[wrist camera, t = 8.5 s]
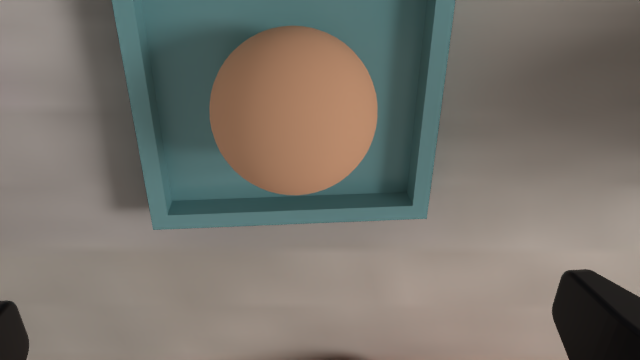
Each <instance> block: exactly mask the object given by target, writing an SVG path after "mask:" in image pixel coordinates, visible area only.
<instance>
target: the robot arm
mask: <svg viewBox="0 0 640 360" xmlns="http://www.w3.org/2000/svg"><path fill="white" fill-rule="evenodd" d="M552 315H553V319H554V322H555V325H556V327H557V330H558V333H559V335H560V338H561V340H562V343H563V345H564V348H565V350H566V353H567V355H568V358H569V360H640V297H638V296H637V295H635V294H633V293H631V292H629V291H628V290H626V289H624V288H622V287H620V286H619V285H617V284H615V283H613V282H612V281H610V280H608V279H606V278H604V277H603V276H601V275H599V274H597V273H595V272H594V271H591V270H587V269H583V270H568V271H566V272H564V274H563V275H562V277H561V280H560V283H559V286H558V289H557V293H556V296H555V299H554V303H553V307H552ZM28 351H29V339H28V335H27V332H26V330H25V327H24V324H23V322H22V319H21V316H20V314H19V311H18V308H17V306H16V305H15V304H14V302H12V301H0V360H26V359H27V355H28Z"/></svg>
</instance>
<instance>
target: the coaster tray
mask: <svg viewBox="0 0 640 360" xmlns="http://www.w3.org/2000/svg"><path fill="white" fill-rule="evenodd" d="M112 5H113V10H114V16H115V22H116V27H117V33H118V38H119V44H120V49H121V55H122V60H123V66H124V71H125V77H126V82H127V88H128V93H129V99H130V104H131V110H132V115H133V121H134V126H135V132H136V137H137V143H138V148H139V154H140V160H141V165H142V171H143V176H144V182H145V187H146V193H147V198H148V204H149V209H150V215H151V220H152V226H153V230H161V229H185V228H210V227H234V226H258V225H282V224H307V223H331V222H355V221H379V220H404V219H427V212H428V204H429V197H430V189H431V182H432V174H433V166H434V159H435V151H436V144H437V136H438V129H439V121H440V113H441V106H442V98H443V91H444V83H445V75H446V68H447V60H448V53H449V45H450V37H451V30H452V22H453V15H454V7H455V0H112ZM281 26H305V27H310V28H314V29H317V30H320V31H323V32H326V33H328V34H330V35H332V36H334V37H336V38H338V39H339V40H341V41H342V42H343V43H345V44H346V45H347V46H348V47H349V48H350V49H352V50H353V51H354V53H355V54H356V55H357V56H358V57H359V58H360V60H361V61H362V62H363V64H364V65H365V67H366V69H367V70H368V72H369V75H370V77H371V79H372V82H373V85H374V88H375V92H376V97H377V107H378V110H377V125H376V130H375V134H374V137H373V140H372V143H371V145H370V147H369V150H368V151H367V153H366V155H365V156H364V158H363V160H362V161H361V162H360V163H359V165H358V166H357V167H356V168H355V169H354V170H353V171H352V172H351V173H350V174H349V175H348V176H347V177H345V178H344V179H343V180H342V181H340V182H338V183H337V184H335V185H333V186H331V187H329V188H327V189H325V190H322V191H319V192H315V193H311V194H305V195H283V194H277V193H273V192H269V191H266V190H264V189H261V188H259V187H257V186H255V185H253V184H251V183H250V182H248V181H247V180H245V179H244V178H242V177H241V176H240V175H239V174H238V173H237V172H235V171H234V169H233V168H232V167H231V166H230V165H229V164H228V162H227V161H226V160H225V158H224V157H223V155H222V154H221V152H220V150H219V148H218V146H217V144H216V142H215V139H214V135H213V132H212V129H211V123H210V110H209V106H210V96H211V91H212V87H213V84H214V81H215V79H216V76H217V74H218V72H219V70H220V68H221V66H222V65H223V63H224V61H225V60H226V59H227V58H228V56H229V55H230V54H231V53H232V52H233V51H234V50H235V49H236V48H237V47H238V46H239V45H240V44H242V43H243V42H244V41H246V40H247V39H249V38H250V37H252V36H254V35H256V34H258V33H260V32H262V31H265V30H268V29H271V28H276V27H281Z"/></svg>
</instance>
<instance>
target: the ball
mask: <svg viewBox="0 0 640 360" xmlns="http://www.w3.org/2000/svg"><path fill="white" fill-rule="evenodd" d="M209 110H210V123H211V129H212V132H213V135H214V139H215V142H216V144H217V146H218V148H219V150H220V152H221V154H222V155H223V157H224V158H225V160H226V161H227V162H228V164H229V165H230V166H231V167H232V168H233V169H234V171H235V172H237V173H238V174H239V175H240V176H241V177H242V178H244V179H245V180H247V181H248V182H250V183H251V184H253V185H255V186H257V187H259V188H261V189H264V190H266V191H269V192H273V193H277V194H283V195H305V194H311V193H315V192H319V191H322V190H325V189H327V188H329V187H331V186H333V185H335V184H337V183H338V182H340V181H342V180H343V179H344V178H345V177H347V176H348V175H349V174H350V173H351V172H352V171H353V170H354V169H355V168H356V167H357V166H358V165H359V163H360V162H361V161H362V160H363V158H364V156H365V155H366V153H367V151H368V150H369V147H370V145H371V143H372V140H373V137H374V134H375V130H376V125H377V110H378V107H377V97H376V92H375V88H374V85H373V82H372V79H371V77H370V75H369V72H368V70H367V69H366V67H365V65H364V64H363V62H362V61H361V60H360V58H359V57H358V56H357V55H356V54H355V53H354V51H353V50H352V49H350V48H349V47H348V46H347V45H346V44H345V43H343V42H342V41H341V40H339V39H338V38H336V37H334V36H332V35H330V34H328V33H326V32H323V31H320V30H317V29H314V28H310V27H305V26H281V27H276V28H271V29H268V30H265V31H262V32H260V33H258V34H256V35H254V36H252V37H250V38H249V39H247V40H246V41H244V42H243V43H242V44H240V45H239V46H238V47H237V48H236V49H235V50H234V51H233V52H232V53H231V54H230V55H229V56H228V58H227V59H226V60H225V61H224V63H223V65H222V66H221V68H220V70H219V72H218V74H217V76H216V79H215V81H214V84H213V87H212V91H211V96H210V106H209Z"/></svg>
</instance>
